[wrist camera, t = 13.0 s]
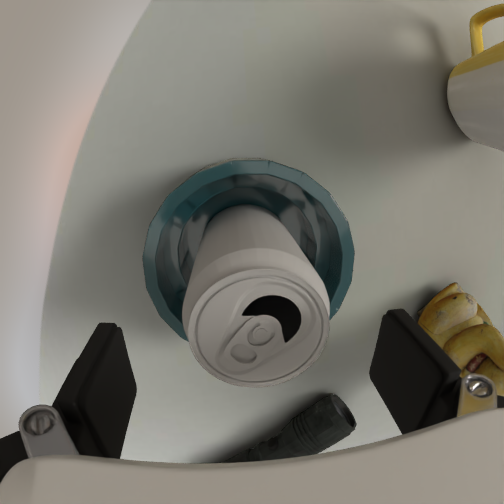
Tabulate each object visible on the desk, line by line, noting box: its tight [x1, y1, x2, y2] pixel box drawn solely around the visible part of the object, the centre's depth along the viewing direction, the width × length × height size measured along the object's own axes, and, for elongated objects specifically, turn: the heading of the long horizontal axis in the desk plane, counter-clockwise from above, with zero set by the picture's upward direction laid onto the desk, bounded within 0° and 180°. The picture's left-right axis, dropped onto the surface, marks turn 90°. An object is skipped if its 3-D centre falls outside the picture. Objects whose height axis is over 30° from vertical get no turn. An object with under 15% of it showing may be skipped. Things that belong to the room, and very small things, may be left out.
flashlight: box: [222, 394, 356, 463], centre depth 30 cm, size 5×21×5 cm, turn 132°
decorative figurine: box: [417, 282, 504, 396], centre depth 21 cm, size 10×8×15 cm
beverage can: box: [182, 204, 330, 387], centre depth 18 cm, size 6×6×12 cm
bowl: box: [143, 158, 355, 342], centre depth 21 cm, size 13×13×6 cm
